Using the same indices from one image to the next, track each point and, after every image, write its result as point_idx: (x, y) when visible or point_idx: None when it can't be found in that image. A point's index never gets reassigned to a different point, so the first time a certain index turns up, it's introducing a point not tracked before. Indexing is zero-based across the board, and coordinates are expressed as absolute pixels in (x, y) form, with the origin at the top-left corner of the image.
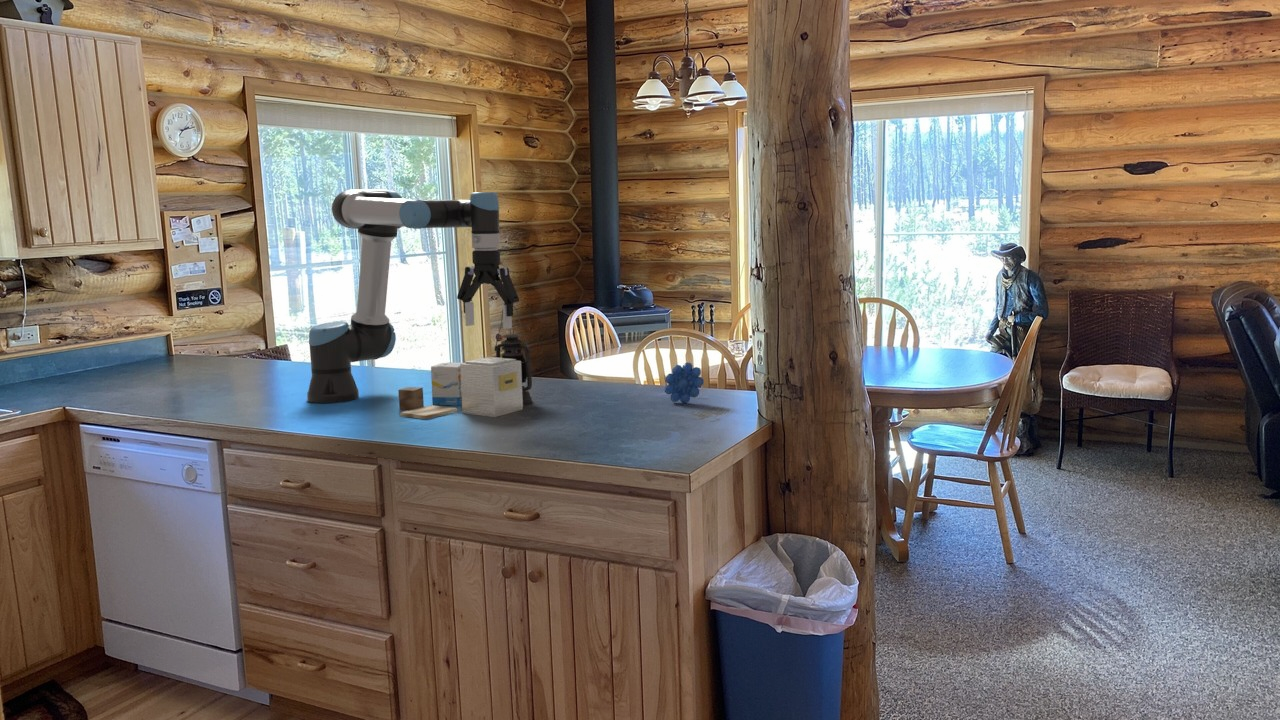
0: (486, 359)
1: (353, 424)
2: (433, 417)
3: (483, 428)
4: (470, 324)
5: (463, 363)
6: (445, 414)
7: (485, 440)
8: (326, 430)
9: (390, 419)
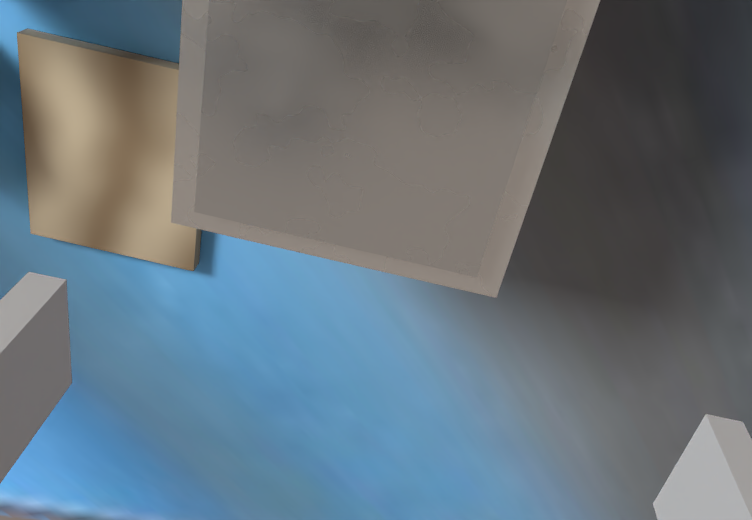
0: (295, 67)
1: None
2: None
3: (540, 358)
4: (64, 351)
5: (177, 194)
6: None
7: (631, 501)
8: None
9: None
